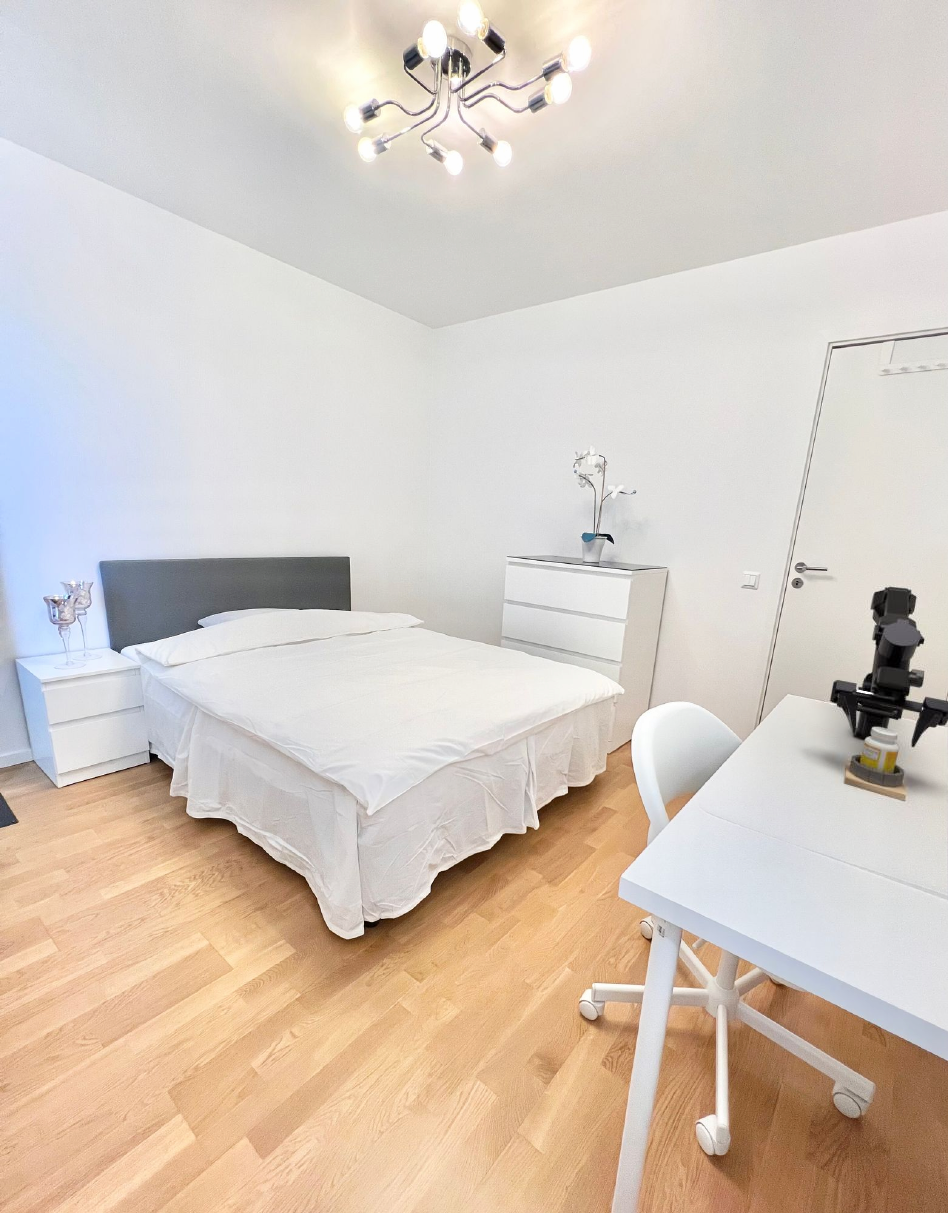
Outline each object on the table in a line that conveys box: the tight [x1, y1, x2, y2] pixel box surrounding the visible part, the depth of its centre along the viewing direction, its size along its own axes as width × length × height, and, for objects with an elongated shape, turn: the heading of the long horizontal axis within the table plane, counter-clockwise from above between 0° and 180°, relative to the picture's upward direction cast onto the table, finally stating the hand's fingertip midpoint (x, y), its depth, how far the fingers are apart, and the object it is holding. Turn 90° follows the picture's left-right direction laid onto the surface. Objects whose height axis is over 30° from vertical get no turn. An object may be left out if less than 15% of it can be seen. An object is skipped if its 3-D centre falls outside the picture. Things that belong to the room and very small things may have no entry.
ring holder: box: [844, 754, 907, 802], centre depth 101 cm, size 10×9×4 cm
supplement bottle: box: [860, 727, 900, 774], centre depth 101 cm, size 5×5×10 cm
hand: (882, 739), depth 100 cm, fingers open, 9 cm apart
